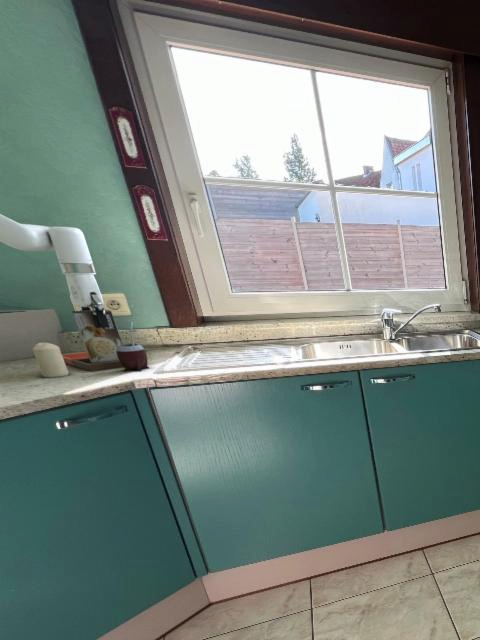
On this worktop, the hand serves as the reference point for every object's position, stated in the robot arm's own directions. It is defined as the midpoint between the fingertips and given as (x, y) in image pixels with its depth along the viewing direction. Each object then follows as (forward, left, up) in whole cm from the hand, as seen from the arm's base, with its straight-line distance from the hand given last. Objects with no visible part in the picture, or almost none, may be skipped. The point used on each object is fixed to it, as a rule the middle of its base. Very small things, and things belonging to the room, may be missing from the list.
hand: (97, 326), depth 161 cm
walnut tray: (0, 0, -13) cm, 13 cm away
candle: (-15, -6, -13) cm, 21 cm away
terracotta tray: (0, +14, -13) cm, 19 cm away
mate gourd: (+2, -14, -13) cm, 19 cm away
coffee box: (0, 0, -11) cm, 11 cm away
